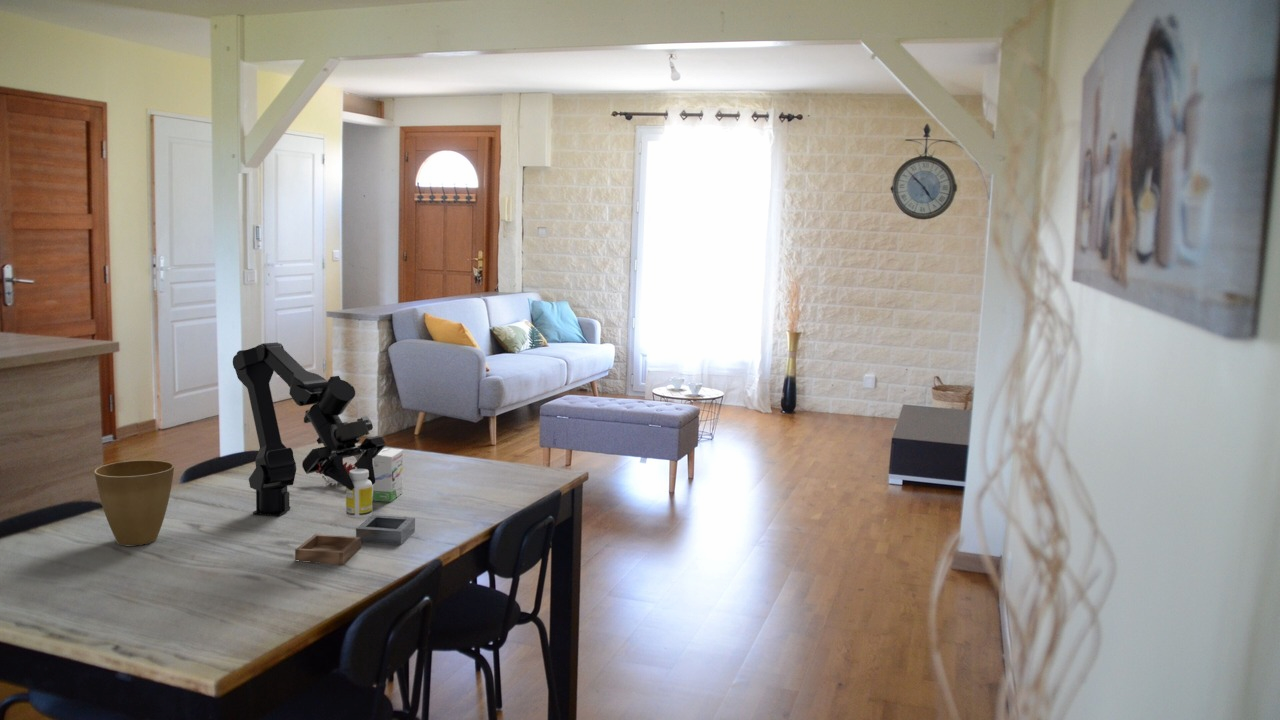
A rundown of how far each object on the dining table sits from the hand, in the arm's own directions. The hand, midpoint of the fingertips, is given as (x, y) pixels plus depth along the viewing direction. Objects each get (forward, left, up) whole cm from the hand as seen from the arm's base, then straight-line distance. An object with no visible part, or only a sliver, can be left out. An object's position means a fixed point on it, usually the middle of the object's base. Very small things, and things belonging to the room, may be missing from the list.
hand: (363, 486), depth 207 cm
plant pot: (-47, -6, -13) cm, 49 cm away
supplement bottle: (-1, +1, -7) cm, 7 cm away
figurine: (-23, +45, -14) cm, 52 cm away
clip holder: (+2, +7, -13) cm, 15 cm away
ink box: (-7, +37, -14) cm, 40 cm away
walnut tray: (-5, -7, -13) cm, 16 cm away
